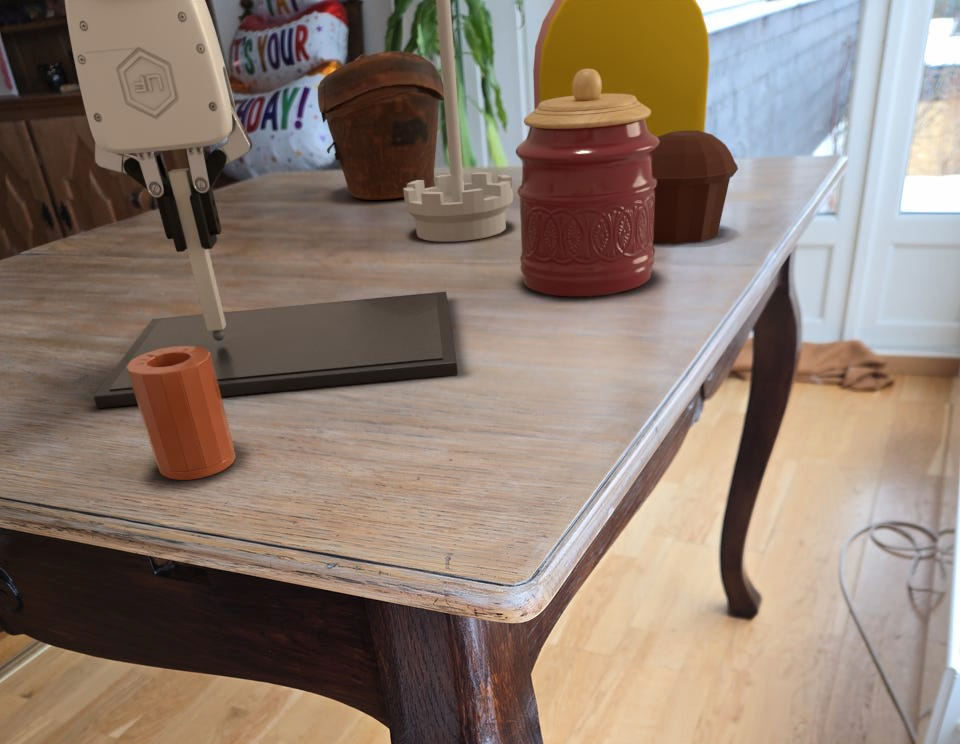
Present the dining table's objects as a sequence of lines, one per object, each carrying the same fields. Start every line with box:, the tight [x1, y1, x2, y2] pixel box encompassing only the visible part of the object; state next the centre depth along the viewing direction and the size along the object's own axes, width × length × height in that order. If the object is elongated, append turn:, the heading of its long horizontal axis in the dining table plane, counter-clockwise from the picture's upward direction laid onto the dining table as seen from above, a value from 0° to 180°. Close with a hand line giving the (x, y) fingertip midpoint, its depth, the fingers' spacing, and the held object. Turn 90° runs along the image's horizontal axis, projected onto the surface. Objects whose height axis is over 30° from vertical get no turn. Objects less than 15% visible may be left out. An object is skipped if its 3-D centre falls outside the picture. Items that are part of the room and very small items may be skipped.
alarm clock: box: [532, 0, 710, 137], centre depth 113 cm, size 21×9×26 cm, turn 93°
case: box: [317, 50, 444, 201], centre depth 128 cm, size 18×20×18 cm
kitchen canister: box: [515, 69, 659, 297], centre depth 83 cm, size 13×13×18 cm
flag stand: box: [403, 0, 514, 243], centre depth 101 cm, size 13×13×30 cm
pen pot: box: [127, 346, 236, 481], centre depth 57 cm, size 5×5×7 cm
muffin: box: [653, 130, 739, 245], centre depth 97 cm, size 12×11×10 cm
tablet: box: [93, 291, 458, 410], centre depth 77 cm, size 28×20×1 cm
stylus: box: [168, 167, 226, 341], centre depth 72 cm, size 1×1×13 cm
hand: (197, 245), depth 72 cm, fingers closed on stylus, 1 cm apart
